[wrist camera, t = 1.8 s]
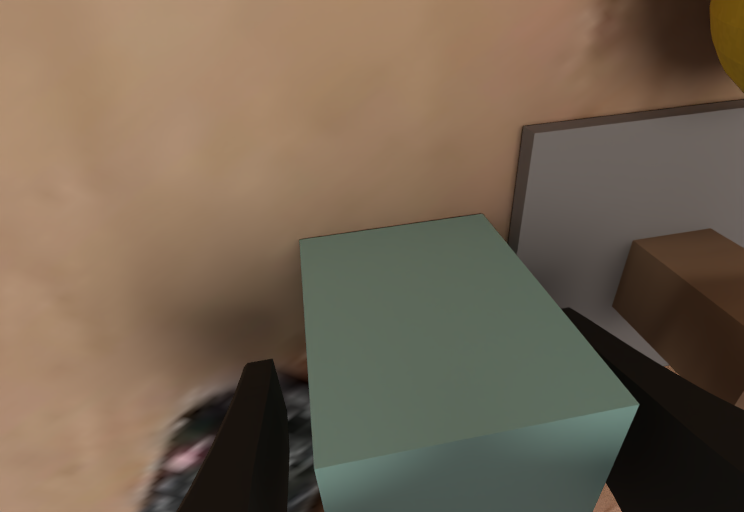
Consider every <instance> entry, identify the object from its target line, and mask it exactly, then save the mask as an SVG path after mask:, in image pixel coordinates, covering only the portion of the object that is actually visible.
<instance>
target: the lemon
mask: <svg viewBox="0 0 744 512" xmlns="http://www.w3.org/2000/svg"><path fill="white" fill-rule="evenodd" d="M710 28H711V36H712V41H713V44H714V47H715V49H716V52H717V55H718V58H719V61H720V63H721V65H722V67H723V69H724V71H725V72H726V73H727V75H728V76H729V77H730V78H731V79H732V80H733V81H734V83H735V84H736V85H737V86H738V87H739V88H740V89H741V90H742V92H743V93H744V0H711V2H710Z"/></svg>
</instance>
